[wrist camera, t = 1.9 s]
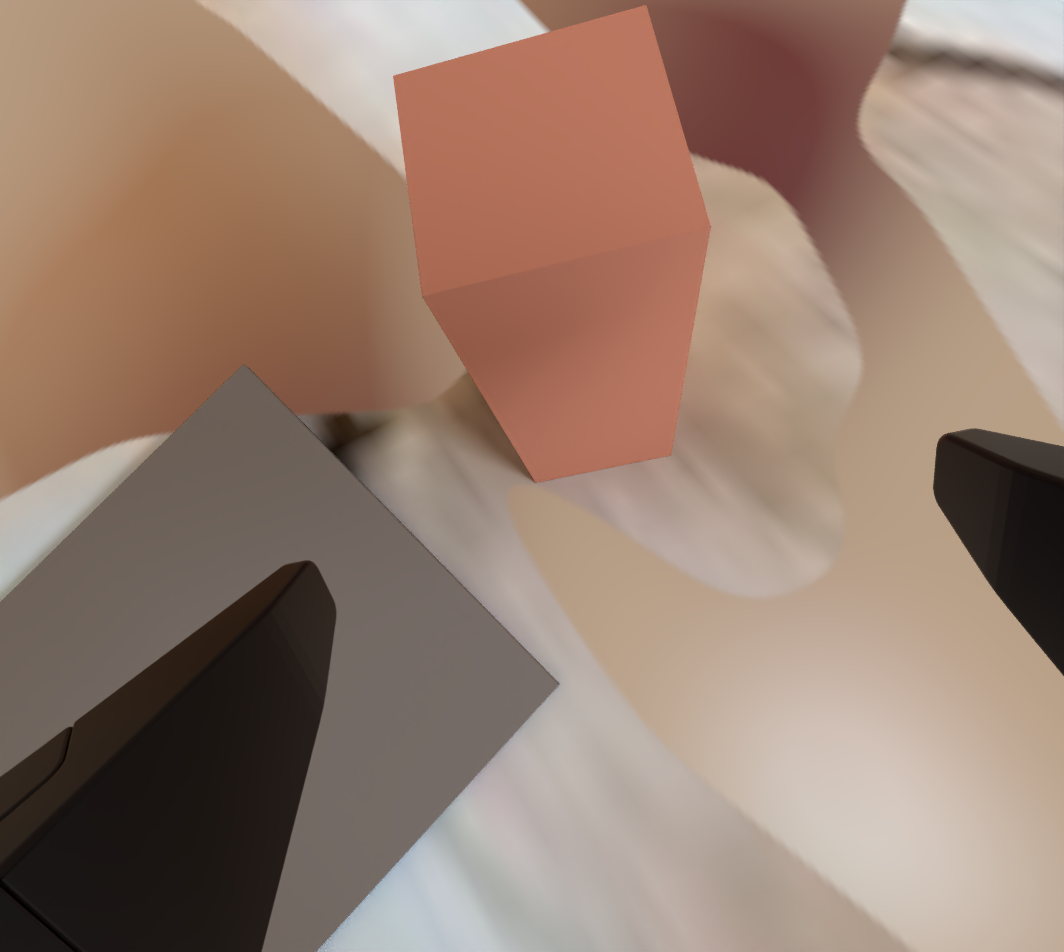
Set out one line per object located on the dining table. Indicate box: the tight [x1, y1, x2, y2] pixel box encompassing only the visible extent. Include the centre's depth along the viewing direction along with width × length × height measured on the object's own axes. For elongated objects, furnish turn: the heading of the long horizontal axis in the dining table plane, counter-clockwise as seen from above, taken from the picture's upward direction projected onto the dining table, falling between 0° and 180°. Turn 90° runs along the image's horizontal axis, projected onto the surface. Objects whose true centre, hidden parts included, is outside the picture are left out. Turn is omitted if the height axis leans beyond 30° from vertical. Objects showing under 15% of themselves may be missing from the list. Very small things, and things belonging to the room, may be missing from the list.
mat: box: [0, 365, 559, 952], centre depth 23 cm, size 18×18×1 cm
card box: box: [393, 5, 711, 483], centre depth 18 cm, size 5×5×13 cm
